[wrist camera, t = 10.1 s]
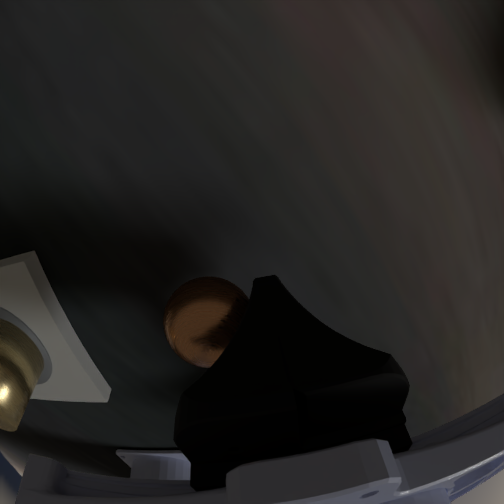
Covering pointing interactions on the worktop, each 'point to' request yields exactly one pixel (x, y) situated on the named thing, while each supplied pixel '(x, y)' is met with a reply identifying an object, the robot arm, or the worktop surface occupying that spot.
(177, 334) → the lever
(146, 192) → the worktop surface
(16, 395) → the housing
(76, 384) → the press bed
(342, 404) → the robot arm
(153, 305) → the worktop surface
